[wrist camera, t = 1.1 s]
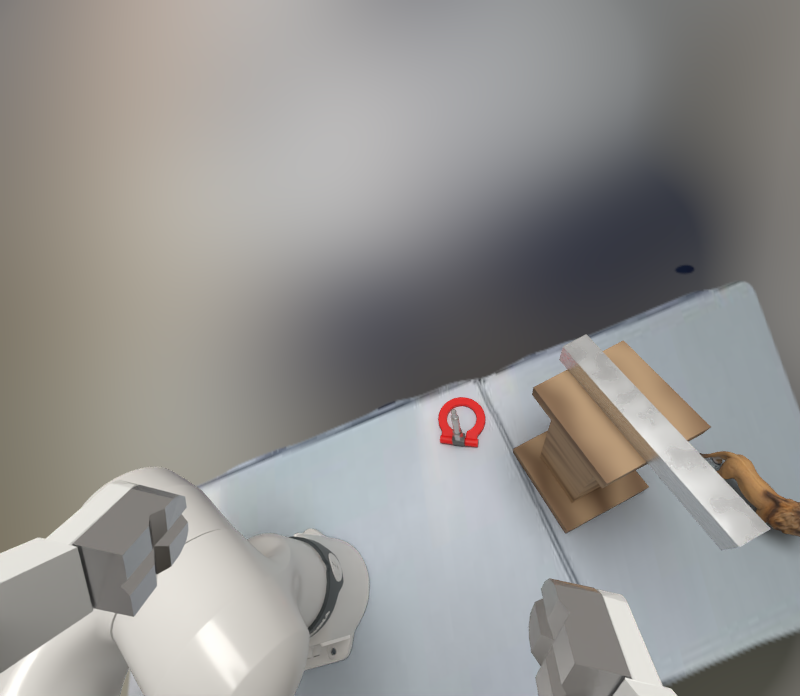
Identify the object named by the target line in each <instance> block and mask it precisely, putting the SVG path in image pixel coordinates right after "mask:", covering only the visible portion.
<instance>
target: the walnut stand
mask: <svg viewBox="0 0 800 696" xmlns="http://www.w3.org/2000/svg"><path fill="white" fill-rule="evenodd" d="M603 353H604V354H605V355H606V356H607V357H608V358H609V359H610V360H611V361H612V362H613V363H614V364H615V365H616V366H617V367H618V368H619V369H620V370H621V372H622V373H623V374H624V375H625V376H626V377H627V378H628V379H629V380H630V381H631V382H632V383H633V384H634V385H635V386H636V387H637V388H638V389H639V390H640V392H641V393H642V394H643V395H644V396H645V397H646V398H647V399H648V400H649V401H650V402H651V403H652V404H653V405H654V406H655V407H656V408H657V409H658V411H659V412H660V413H661V414H662V415H663V416H664V417H665V418H666V419H667V420H668V421H669V422H670V423H671V424H672V425H673V426H674V427H675V428H676V429H677V431H678V432H679V433H680V434H681V435H682V436H683V437H684V438H685V439H686V440H687V441H690V440H692V439H694V438H696V437H697V436H699V435H701V434H703V433H704V432H705V431H707V430H708V429H709V428H710V426H709V425H708V424H707V423H706V422H705V421H704V420H703V419H702V418H701V417H700V416H699V415H698V414H697V413H696V412H695V411H694V410H693V409H692V408H691V407H690V406H689V405H688V404H687V403H686V402H685V401H684V400H683V399H682V398H681V397H680V396H679V395H678V394H677V393H676V392H675V391H674V390H673V389H672V388H671V387H670V386H669V385H668V384H667V383H666V382H665V381H664V380H663V379H662V378H661V377H660V376H659V375H658V374H657V373H656V372H655V371H654V370H653V369H652V368H651V367H650V366H649V365H648V364H647V363H646V362H645V361H644V360H643V359H642V358H641V357H640V356H639V355H638V354H637V353H636V352H635V351H634V350H633V349H632V348H631V347H630V346H628V345H627V344H626V343H625V342H624V341H621V342H620V343H618V344H616V345H614V346H612V347H610V348H608V349H606V350H604V351H603ZM532 395H533V396H534V398H535V399H536V400H537V402H538V403H539V405H540V406H541V407H542V409H543V410H544V411H545V413H546V414H547V415H548V417H549V418H550V419H551V423H550V426H549V429H548V431H546V432H544V433H542V434H540V435H538V436H537V437H535V438H533V439H531V440H529V441H527V442H525V443H523V444H521V445H520V446H518V447H516V448H514V449H513V453H514V454H515V456H516V458H517V459H518V461H519V462H520V464H521V465H522V467H523V468H524V470H525V471H526V473H527V475H528V476H529V478H530V479H531V481H532V482H533V484H534V485H535V487H536V489H537V490H538V492H539V493H540V495H541V496H542V498H543V499H544V501H545V502H546V504H547V506H548V507H549V509H550V510H551V512H552V513H553V515H554V516H555V518H556V520H557V521H558V523H559V524H560V526H561V527H562V529H563V530H564V532H565V533H567V532H569V531H571V530H573V529H575V528H577V527H578V526H580V525H582V524H584V523H586V522H587V521H589V520H591V519H593V518H595V517H597V516H598V515H600V514H602V513H604V512H606V511H607V510H609V509H611V508H613V507H615V506H616V505H618V504H620V503H622V502H624V501H626V500H627V499H629V498H631V497H633V496H635V495H636V494H638V493H640V492H642V491H644V490H645V489H647V488H648V487H649V486H648V485H647V484H646V483H645V481H644V480H643V479H642V478H641V477H640V475H639V474H638V473H637V472H636V470H637V469H639V468H641V467H643V466H644V465H646V464H647V462H646V461H645V460H644V459H643V458H642V457H641V455H640V454H639V453H638V452H637V451H636V450H635V448H634V447H633V446H632V445H631V444H630V442H629V441H628V440H627V439H626V438H625V437H624V435H623V434H622V433H621V432H620V431H619V430H618V428H617V427H616V426H615V425H614V424H613V422H612V421H611V420H610V419H609V418H608V417H607V415H606V414H605V413H604V412H603V411H602V409H601V408H600V407H599V406H598V405H597V404H596V402H595V401H594V400H593V399H592V398H591V397H590V395H589V394H588V393H587V392H586V391H585V389H584V388H583V387H582V386H581V385H580V384H579V382H578V381H577V380H576V379H575V378H574V377H573V375H572V374H571V373H570V372H569V371H568V370H566V371H564V372H562V373H560V374H558V375H556V376H554V377H552V378H550V379H549V380H547V381H545V382H543V383H541V384H539V385H537V386H535V387H533V393H532Z"/></svg>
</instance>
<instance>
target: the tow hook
mask: <svg viewBox="0 0 800 696" xmlns="http://www.w3.org/2000/svg"><path fill="white" fill-rule="evenodd" d="M458 406H466V407H469V408H470V409H472V410H473V411H474V412H475V414H476V417H477V421H476V424H475V426H474V427H473V428H472V429H471V430H469V431H467V433H466V438H465V433H462V430H461V428H460V423H459V417H458V415H457V413H456V410H455V409H453V408H455V407H458ZM452 409H453V410H452ZM450 411H451V414H452V415H451V421H452V425H453V429H451V428H450V427H449V425H448V423H447V416H448V413H449V412H450ZM438 420H439V425H440V428H441V430H442V435H441V437H440V443H445V444H453V445H458V446H471V447H478V442H479V441H478V439H477V437H478V435H479V434H480V433H481V432H482V430H483V428H484V425H485V414H484V411H483V409H482V407H481V406H480V405H479V404H478V403H477V402H475V401H474V400H472V399H469V398H463V397H459V398H454V399H452V400H450V401H448V402H447V403H446V404H444V406H443V407H442V408H441V410H440V413H439V418H438Z"/></svg>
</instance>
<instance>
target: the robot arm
mask: <svg viewBox="0 0 800 696" xmlns="http://www.w3.org/2000/svg"><path fill="white" fill-rule="evenodd" d="M541 591H542V596H543V599H541V600H539V601H537V602H535V603H534V605H533V608H532V610H531V613H530V620H529V641H530V647H531V653H532V654H533V656H534V657H535V659H536V660H537V661H538V663H539V664H540V666H541V667H540V669H539V671H538V673H537V675H536V677H535V678H536V684H537V690H538V695H539V696H677V695H676V694H675V693H674V691H673V690H672V689H670V688H667V687H663V685H662V683H661V681H660V678H659V676H658V673H657V671H656V669H655V666H654V664H653V662H652V659H651V657H650V655H649V652H648V650H647V647H646V645H645V643H644V640H643V638H642V636H641V633H640V631H639V629H638V626H637V624H636V621H635V619H634V617H633V614H632V612H631V610H630V607H629V605H628V603H627V600H626V599H625V598H624V597H623V596H622V595H620V594H616V593H611V592H607V591H603V590H598V589H594V588H592V587H587V586H582V585H578V584H573V583H568V582H564V581H559V580H554V579H550V578H549V579H548V580H546V581H545V582H544V584H543V586H542V588H541ZM368 597H369V576H368V571H367V568H366V565H365V563H364V560H363V558H362V557H361V555H360V554H359V552H358V551H357V550H356V549H355V548H354V547H353V546H352V545H350V544H349V543H347V542H345V541H343V540H340V539H335V538H329V537H326V536H324V535H323V534H322V533H321V532H319V531H318V530H316V529H307V530H306V531H304V532H303V533H297V534H295V535H294V537H285V536H281V535H278V534H274V533H263V534H259V535H256V536H253V537H251V538H249V539H248V540H246V539H245V538H244V537H243V535H242V534H241V533H240V532H239V531H237V530H236V529H235V528H234V527H233V526H232V525H231V524H230V522H229V521H228V520H227V519H226V518H225V517H224V515H223V514H222V513H221V512H220V511H219V510H218V508H217V507H216V506H215V505H214V504H213V503H212V502H211V500H210V499H209V498H208V497H207V496H206V495H205V493H204V492H203V491H202V490H200V489H199V488H198V487H196V486H195V485H193V484H192V483H190V482H189V481H187V480H186V479H185V478H183V477H181V476H179V475H178V474H176V473H175V472H173V471H171V470H169V469H167V468H163V467H146V468H141V469H137V470H133V471H130V472H127V473H125V474H123V475H120V476H118V477H116V478H115V479H113V480H111V481H110V482H108V483H107V484H105V485H104V486H102V487H101V488H100V489H99V490H97V491H96V492H95V493H94V494H93V495H92V496H91V497H90V498H89V499H88V500H87V501H86V502H85V503H84V505H83V506H82V507H81V508H80V509H79V510H78V511H77V512H76V513H75V514H74V515H72V516H71V517H70V518H69V519H68V520H67V521H65V522H64V523H63V524H62V525H61V526H60V527H59V528H57V529H56V530H55V531H54V532H53V533H52V534H50V535H49V536H48V537H47V538H46V539H44V538H39V537H38V538H36V539H33V540H31V541H29V542H26V543H24V544H21V545H19V546H17V547H14V548H12V549H9V550H7V551H5V552H3V553H0V696H120V694H121V690H122V686H123V683H124V680H125V677H126V674H127V672H128V669H129V668H130V670H131V672H132V674H133V676H134V678H135V680H136V682H137V683H138V685H139V687H140V689H141V691H142V693H143V695H144V696H294V694H295V693H296V690H297V688H298V686H299V684H300V681H301V679H302V676H303V673H304V671H305V670H309V669H312V668H316V667H320V666H323V665H327V664H330V663H334V662H338V661H341V660H344V659H346V658H347V657H348V656H349V654H350V652H351V648H352V643H353V638H354V632H355V630H356V628H357V626H358V624H359V622H360V620H361V618H362V616H363V614H364V612H365V609H366V606H367V602H368ZM333 648H335V649H336V654H335V655H333V653H332V650H333Z"/></svg>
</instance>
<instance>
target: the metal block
mask: <svg viewBox="0 0 800 696" xmlns="http://www.w3.org/2000/svg"><path fill="white" fill-rule="evenodd" d="M559 360H560V361H561V362H562V364H563V365H564V366H565V367H566V368H567V369H568V371H569V372H570V373H571V374H572V375H573V377H574V378H575V379H576V380H577V381H578V382H579V384H580V385H581V386H582V387H583V388H584V389H585V391H586V392H587V393H588V394H589V395H590V397H591V398H592V399H593V400H594V401H595V402H596V404H597V405H598V406H599V407H600V408H601V409H602V411H603V412H604V413H605V414H606V415H607V417H608V418H609V419H610V420H611V421H612V422H613V424H614V425H615V426H616V427H617V428H618V430H619V431H620V432H621V433H622V434H623V435H624V437H625V438H626V439H627V440H628V441H629V442H630V444H631V445H632V446H633V447H634V448H635V450H636V451H637V452H638V453H639V454H640V455H641V457H642V458H643V459H644V460H645V461H646V462H647V464H648V465H649V466H650V467H651V468H652V470H653V471H654V472H655V473H656V474H657V475H658V477H659V478H660V479H661V480H662V481H663V482H664V484H665V485H666V486H667V487H668V488H669V490H670V491H671V492H672V493H673V494H674V495H675V497H676V498H677V499H678V500H679V501H680V502H681V504H682V505H683V506H684V507H685V508H686V510H687V511H688V512H689V513H690V514H691V515H692V517H693V518H694V519H695V520H696V521H697V522H698V524H699V525H700V526H701V527H702V528H703V530H704V531H705V532H706V533H707V534H708V535H709V537H710V538H711V539H712V540H713V541H714V542H715V544H716V545H717V546H718V547H719V548H720V550H727V549H732V548H737V547H740V546H742V545H744V544H745V543H747V542H749V541H751V540H752V539H754V538H756V537H758V536H759V535H761V534H763V533H765V532H766V531H768V530H770V527H769V526H768V525H767V524H766V523H765V522H764V521H763V520H762V519H761V518H760V517H759V516H758V515H757V514H756V513H755V512H754V511H753V510H752V509H751V507H750V506H749V505H748V504H747V503H746V502H745V501H744V500H743V499H742V498H741V497H740V496H739V495H738V494H737V493H736V492H735V491H734V490H733V488H732V487H731V486H730V485H729V484H728V483H727V482H726V481H725V480H724V479H723V478H722V477H721V476H720V475H719V474H718V473H717V472H716V471H715V470H714V468H713V467H712V466H711V465H710V464H709V463H708V462H707V461H706V460H705V459H704V458H703V457H702V456H701V455H700V454H699V453H698V452H697V451H696V449H695V448H694V447H693V446H692V445H691V444H690V443H689V442H688V441H687V440H686V439H685V438H684V437H683V436H682V435H681V434H680V433H679V432H678V431H677V429H676V428H675V427H674V426H673V425H672V424H671V423H670V422H669V421H668V420H667V419H666V418H665V417H664V416H663V415H662V414H661V413H660V412H659V411H658V409H657V408H656V407H655V406H654V405H653V404H652V403H651V402H650V401H649V400H648V399H647V398H646V397H645V396H644V395H643V394H642V393H641V392H640V390H639V389H638V388H637V387H636V386H635V385H634V384H633V383H632V382H631V381H630V380H629V379H628V378H627V377H626V376H625V375H624V374H623V373H622V372H621V370H620V369H619V368H618V367H617V366H616V365H615V364H614V363H613V362H612V361H611V360H610V359H609V358H608V357H607V356H606V355H605V354H604V353H603V351H602V350H601V349H600V348H599V347H598V346H597V345H596V344H595V343H594V342H593V341H592V340H591V339H590V338H589V337H588V336H587V335H584V336H582V337H580V338H578V339H576V340H574V341H573V342H571V343H569V344H567V345H565V346H563V348H562V352H561V356H560V359H559Z"/></svg>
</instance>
